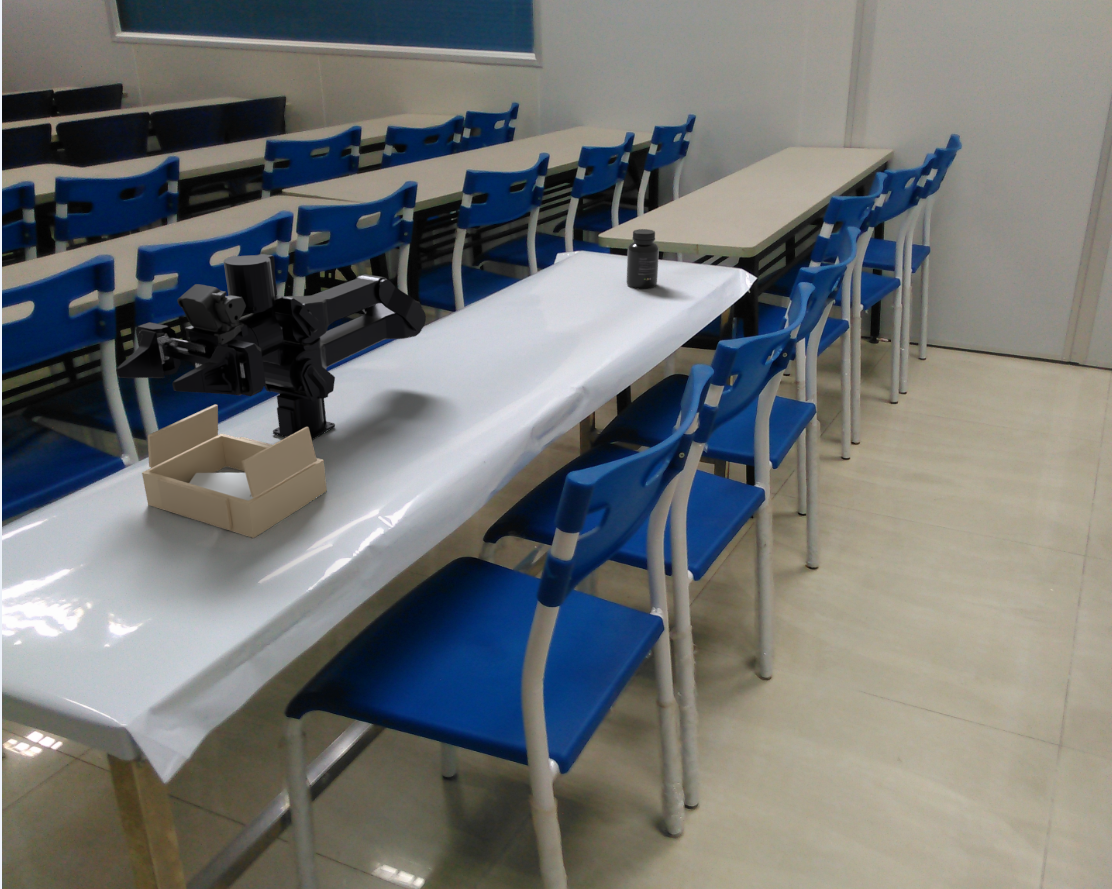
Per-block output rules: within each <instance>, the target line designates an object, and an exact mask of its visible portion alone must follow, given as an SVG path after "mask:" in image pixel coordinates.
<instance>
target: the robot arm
mask: <svg viewBox="0 0 1112 889" xmlns="http://www.w3.org/2000/svg"><path fill="white" fill-rule="evenodd" d="M223 266H224V273H225V280H226V285H227V291H223V290H220V289H219V288H217V287H214V286H210V285H205V284H199V283H198V284H197V283H196V284H194V285H192V286H191V287H190V288H189V289H188V290H187V291H186V292H184V293H183V294H182V295H181V296H180V297H178V298H177V304H178V306H179V307H180V308H181V309H182V311H183V313H184V315H185V317H186V319H187V321H188V322H189V324H190V326H186V327H185V332H186V337H187V338H189V341H188V340H183V339H179V338H177V334H176V330H174V329H173V328H172V327H171V326H169V325H164V324H161V323H155V322H147V323H143V324H140V325H138V326H137V327H136V329H135V334H136V339H137V345H138V348H136V350H135V351H134V352H132V354H131V355H129V357H128V358H126V359H125V360H124V361H123V362H122V363H120V364H119V366H118V367H117V368H116V370H115V372H116V376H117V377H118V378H120V379H121V378H122V379H123V378H124V379H125V378H126V379H161V378H162V379H163V378H165V376H171V375H173V374H176V373H177V372H178V370H179V367H180V365H181V361H185V362H190V363H191V365H192V366H194V369H192V370H189V371H188V372H186V373H185V374H183V375H181V376H179V377H178V378H177V379H174V381H172V389H173V391H176V392H187V393H203V394H216V395H217V394H219V395H231V396H242V395H243V396H247V397H252V396H254V395H255V396H256V394H259V393H261V392H262V391H263V389H264V388H265V392H270V393H271V392H273V393H277V394H278V395H276V399H277V400H276V401H277V402H276V403H277V407H276V413H277V421H278V427H277V428H274V429H273V430H272V434H273V435H277V436H280V437H284V438H286V437H288V436H290V435H292V434H294V433H296V432H298V431H299V430H301V429H303V428H305V427H309V431H310V435H311V439H312V440H314V439H316V438H318V437H319V435H320V436H321V435H323V434H325V433H326V431H327V430H329V429H330V430H332V429H334V428H335V427H336V424H335V422H331V421H327V414H326V408H325V406H326V405H325V399H326V398H328V397H329V394H330V393H332V392H334V388H335V381H336V380H335V379H336V377H335V376H334V374H332V373H331V372H330V371H328V370H327V368H329V367H330V366H332V365H335V364H337V363H338V362H340V361H343V360H345V359H347V358H349V357H350V356H353V355H355V354H357V353H359V352H361V351H364V350H366V349H367V348H369V347H371V346H374V345H376V344H378V343H380V342H382V341H385V340H404V339H409V338H413V337H416V336H418V335H419V334H420V333H421V332H422V330H423V329H424V327H425V324H426V318H427V317H426V312H425V310H424V309H423V306H422V304H421V303H420V301H417V300H415V299H414V298H413V297H412V296H411V295H409V294H407V293H406V292H404V291H403V290H401V289H399V288H398V287H397V286H395V285H394V284H393V283H392V282H391V281H390V280H389V279H387V277H384V276H378V275H371V274H362V275H358V276H357V277H356V278H355V279H353V280H349V281H346V282H344V283H341V284H339V285H336V286H332V287H330V288H328V289H326V290H322V291H320V292H318V293H317V292H316V293H315V294H312V295H288V296H287V295H285V296H283V295H279V294H278V288H277V282H276V273H275V270H276V264H275V256H274V255H271V254H266V253H265V254H264V253H260V254H255V255H250V254H249V255H241V256H240V255H232V256H228V257H227V258H226V257H225V258H224V259H223ZM361 311H362V312H363V313H364V315H361V316H358V317H357V318H354V319H352V320H349V321H347V322H344V323H343V324H340V325H337V326H335V327H334V328H331V329H329V330H328V328H329V326H330V325H331V324H332V323H335V322H338V321H340V320H343V319H344V318H346V317H350V316H352V315H354V314H357V313H359V312H361ZM244 313H245V314H246V315H244V316H243V314H244ZM333 427H334V428H333ZM331 428H332V429H331ZM330 430H329V431H330ZM324 432H325V433H324ZM327 432H328V431H327ZM317 436H318V437H317ZM315 437H316V438H315ZM313 438H314V439H313Z"/></svg>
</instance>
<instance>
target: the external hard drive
mask: <svg viewBox="0 0 1112 889" xmlns="http://www.w3.org/2000/svg"><path fill="white" fill-rule="evenodd" d="M190 484H193V485H196V486H200V487H203V488H207V489H210V490H213V491H217V492H220V493H224V494H227V495H231V496H234V497H237V498H241V499H244V500H248V501H249V500H251V499H252V498H254V497H252V495H251V492H250V488H249V485H248V481H247V478H246V474H245V472H215V473H196V474H195V475H194V477H193V478H192V479H191V481H190Z"/></svg>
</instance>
